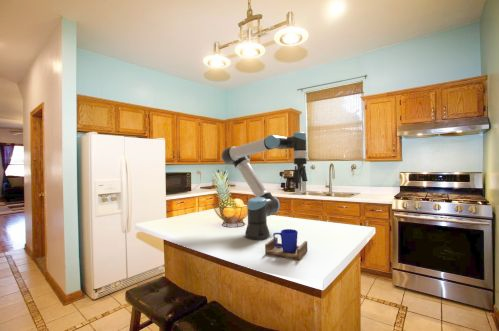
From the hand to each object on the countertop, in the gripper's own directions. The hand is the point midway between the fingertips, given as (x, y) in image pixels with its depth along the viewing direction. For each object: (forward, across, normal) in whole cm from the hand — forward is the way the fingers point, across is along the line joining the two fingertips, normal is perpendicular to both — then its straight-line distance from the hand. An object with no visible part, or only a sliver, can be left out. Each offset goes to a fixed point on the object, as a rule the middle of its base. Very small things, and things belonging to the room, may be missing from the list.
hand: (300, 192), depth 151 cm
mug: (+26, -30, -1) cm, 40 cm away
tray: (+27, -30, -1) cm, 40 cm away
